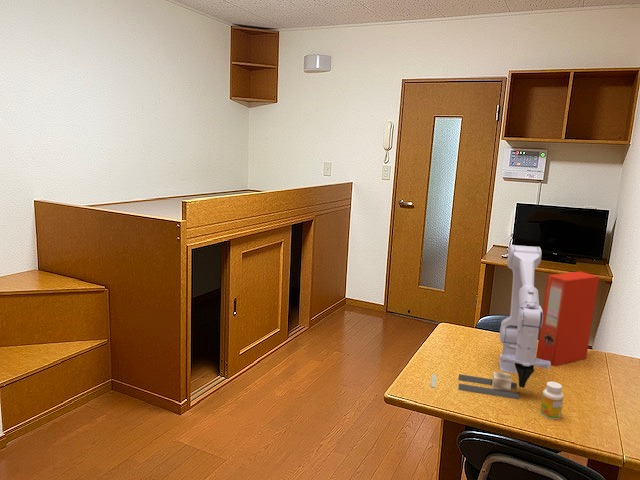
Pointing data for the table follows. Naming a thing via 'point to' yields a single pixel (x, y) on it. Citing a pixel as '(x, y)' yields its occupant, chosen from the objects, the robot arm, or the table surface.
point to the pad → (433, 381)
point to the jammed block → (501, 381)
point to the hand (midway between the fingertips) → (521, 386)
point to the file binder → (567, 317)
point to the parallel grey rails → (486, 390)
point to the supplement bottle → (552, 401)
